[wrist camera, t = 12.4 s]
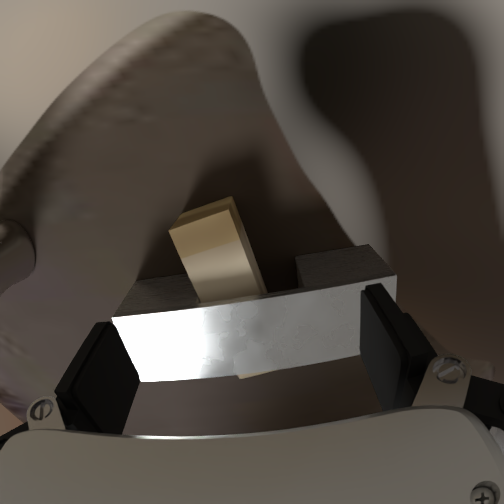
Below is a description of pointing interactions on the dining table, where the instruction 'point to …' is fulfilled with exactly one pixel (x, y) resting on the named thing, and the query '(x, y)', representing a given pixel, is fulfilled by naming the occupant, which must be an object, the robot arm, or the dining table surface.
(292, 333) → the housing
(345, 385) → the dining table surface
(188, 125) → the dining table surface
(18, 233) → the beer glass
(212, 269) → the bar
